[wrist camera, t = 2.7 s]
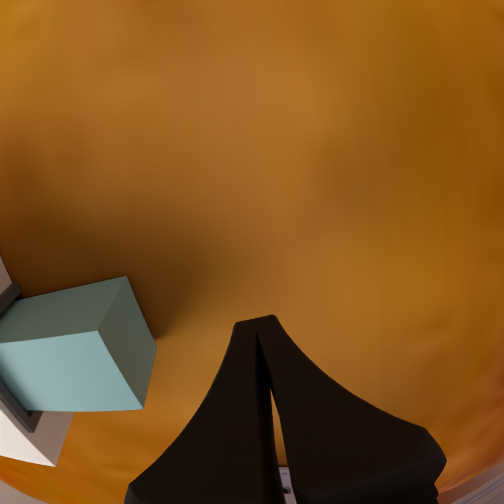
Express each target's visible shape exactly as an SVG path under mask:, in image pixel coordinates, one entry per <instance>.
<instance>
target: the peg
mask: <svg viewBox="0 0 504 504" xmlns="http://www.w3.org/2000/svg"><path fill="white" fill-rule="evenodd" d="M156 349H157V346H156V344H155V342H154V339H153V337H152V335H151V333H150V331H149V328H148V326H147V324H146V322H145V319H144V317H143V315H142V312H141V310H140V308H139V305H138V303H137V301H136V298H135V296H134V293H133V291H132V288H131V286H130V283H129V281H128V278H127V276H123V277H118V278H114V279H109V280H105V281H101V282H96V283H92V284H87V285H83V286H78V287H74V288H70V289H65V290H61V291H56V292H52V293H48V294H43V295H39V296H34V297H30V298H26V299H21V300H17V301H12V302H11V303H10V305H9V306H8V307H7V308H6V309H5V310H4V311H3V312H2V313H1V315H0V381H1V382H2V383H3V385H4V386H5V387H6V389H7V390H8V391H9V393H10V394H11V395H12V397H13V398H14V399H15V400H16V402H17V403H18V404H19V405H20V407H21V408H22V409H23V410H40V411H118V410H135V409H144V404H145V400H146V395H147V390H148V385H149V381H150V376H151V371H152V367H153V362H154V358H155V354H156Z"/></svg>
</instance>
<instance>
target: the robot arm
mask: <svg viewBox="0 0 504 504" xmlns="http://www.w3.org/2000/svg"><path fill="white" fill-rule="evenodd" d="M270 388H271V391H272V395H273V398H274V401H275V404H276V407H277V411H278V414H279V418H280V423H281V428H282V434H283V440H284V445H285V451H286V457H287V462H288V467H279V465H278V460H277V455H276V448H275V440H274V427H273V415H272V402H271V391H270ZM446 462H447V460H446V457H445V455H444V453H443V451H442V449H441V448H440V446H439V445H438V443H437V442H436V441H435V439H434V438H433V437H432V436H431V435H430V433H429V432H428V431H427V430H426V429H425V428H423V427H421V426H418V425H415V424H412V423H410V422H407V421H405V420H402V419H400V418H397V417H395V416H393V415H391V414H389V413H387V412H385V411H382V410H380V409H378V408H376V407H375V406H373V405H371V404H369V403H368V402H366V401H364V400H363V399H361V398H359V397H358V396H356V395H354V394H352V393H351V392H349V391H348V390H347V389H345V388H344V387H342V386H341V385H339V384H338V383H337V382H336V381H334V380H333V379H332V378H330V377H329V376H328V375H327V374H325V373H324V372H323V371H322V370H321V369H320V368H319V367H317V366H316V365H315V364H314V363H313V362H312V361H311V360H310V359H309V358H308V357H307V356H306V355H305V354H304V353H303V352H302V351H301V350H300V348H299V347H298V346H297V345H296V344H295V343H294V342H293V340H292V339H291V338H290V337H289V335H288V334H287V333H286V331H285V330H284V329H283V327H282V326H281V324H280V322H279V321H278V319H277V317H276V316H275V315H268V316H263V317H259V318H254V319H250V320H245V321H240V322H236V323H235V325H234V327H233V332H232V336H231V339H230V342H229V345H228V348H227V351H226V354H225V356H224V359H223V361H222V364H221V366H220V369H219V371H218V373H217V375H216V377H215V379H214V381H213V383H212V385H211V387H210V389H209V391H208V393H207V395H206V397H205V398H204V400H203V402H202V403H201V405H200V407H199V408H198V410H197V411H196V413H195V414H194V416H193V417H192V418H191V420H190V421H189V423H188V424H187V425H186V427H185V428H184V429H183V431H182V432H181V433H180V435H179V436H178V437H177V438H176V439H175V440H174V441H173V443H172V444H171V445H170V446H169V447H168V448H167V449H166V450H165V451H164V453H163V454H162V455H161V456H160V457H159V458H158V459H157V460H156V461H155V462H154V463H153V464H152V465H151V466H149V467H148V468H147V469H146V470H145V471H144V472H143V473H142V474H140V475H139V476H138V477H137V478H136V479H135V480H133V481H132V482H131V483H130V484H129V486H128V490H127V493H126V496H125V500H124V504H439V503H438V501H437V499H436V497H437V496H438V491H437V489H436V487H435V484H434V483H435V481H436V480H437V478H438V477H439V475H440V474H441V472H442V471H443V469H444V467H445V465H446ZM451 504H504V472H502V473H500V474H499V475H497V476H496V477H494V478H493V479H491V480H490V481H488V482H487V483H485V484H484V485H482V486H480V487H479V488H477V489H476V490H474V491H472V492H471V493H469V494H467V495H466V496H464V497H462V498H460V499H458V500H457V501H455V502H453V503H451Z"/></svg>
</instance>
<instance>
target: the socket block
mask: <svg viewBox="0 0 504 504" xmlns="http://www.w3.org/2000/svg"><path fill="white" fill-rule="evenodd" d="M20 293H21V290H20V288H19V285H18V283H17V282H13V283H12V282H11V279H10V277H9V275H8V273H7V270H6V268H5V266H4V263H3V261H2V259H1V256H0V315H1V313H2V312H3V311H4V310H5V309H6V308H7V307H8V306H9V305H10V303H11V302H12V301H13V300H14V299H15V298H16V297H17V296H18V295H19V294H20ZM74 412H75V411H40V410H23V409H22V408H21V407H20V405H19V404H18V403H17V402H16V400H15V399H14V398H13V397H12V395H11V394H10V393H9V391H8V390H7V389H6V387H5V386H4V385H3V383H2V382H1V381H0V455H1V456H5V457H9V458H13V459H18V460H22V461H27V462H32V463H37V464H42V465H48V466H54V467H56V464H57V461H58V458H59V455H60V452H61V449H62V446H63V443H64V440H65V437H66V434H67V431H68V428H69V426H70V423H71V420H72V417H73V415H74Z"/></svg>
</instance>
